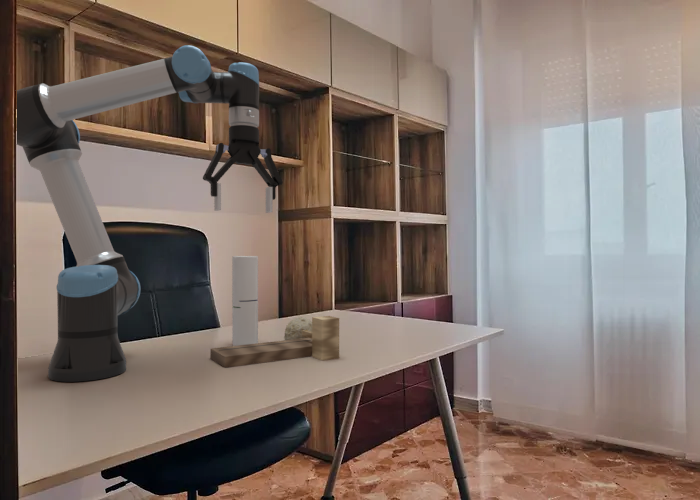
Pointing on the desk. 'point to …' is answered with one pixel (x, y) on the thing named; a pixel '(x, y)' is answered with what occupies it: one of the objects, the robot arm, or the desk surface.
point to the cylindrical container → (244, 300)
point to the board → (261, 352)
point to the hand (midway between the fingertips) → (244, 211)
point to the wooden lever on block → (324, 337)
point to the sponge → (297, 328)
